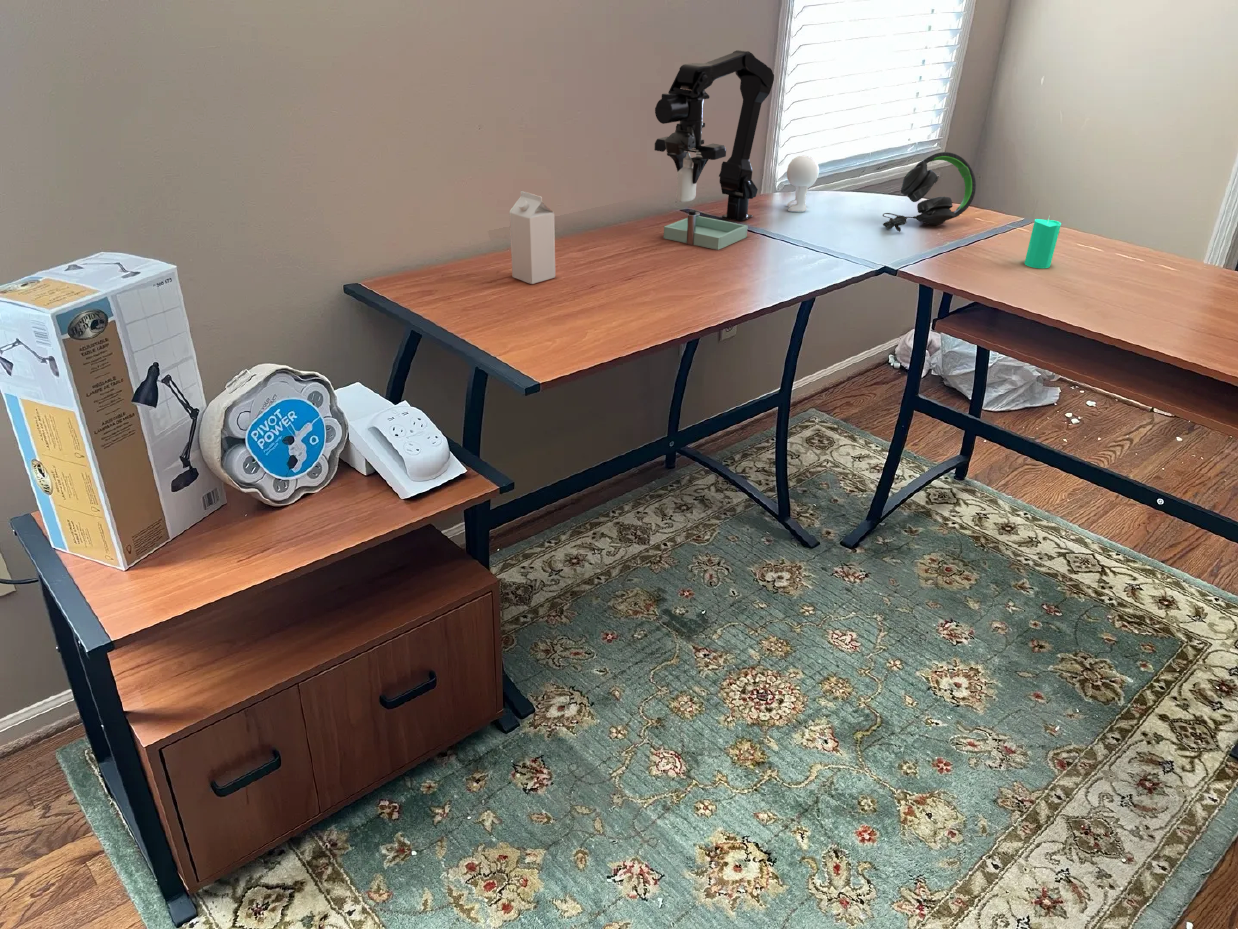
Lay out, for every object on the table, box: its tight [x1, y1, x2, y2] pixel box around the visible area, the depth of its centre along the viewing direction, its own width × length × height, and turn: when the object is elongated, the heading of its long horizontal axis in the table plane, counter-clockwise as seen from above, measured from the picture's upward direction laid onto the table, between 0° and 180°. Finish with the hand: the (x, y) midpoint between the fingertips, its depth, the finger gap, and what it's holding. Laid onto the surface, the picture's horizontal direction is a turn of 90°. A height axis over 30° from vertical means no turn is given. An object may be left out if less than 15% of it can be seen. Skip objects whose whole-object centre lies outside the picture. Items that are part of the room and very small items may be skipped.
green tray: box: [663, 215, 749, 251], centre depth 238 cm, size 15×17×3 cm
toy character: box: [786, 155, 820, 213], centre depth 262 cm, size 9×9×15 cm
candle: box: [1023, 214, 1062, 270], centre depth 219 cm, size 6×6×12 cm
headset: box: [881, 151, 977, 233], centre depth 247 cm, size 18×14×29 cm
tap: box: [685, 209, 701, 246], centre depth 232 cm, size 4×2×8 cm, turn 143°
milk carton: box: [508, 190, 556, 285], centre depth 204 cm, size 7×7×19 cm
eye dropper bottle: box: [675, 152, 698, 203], centre depth 236 cm, size 4×6×12 cm
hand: (688, 182), depth 237 cm, fingers closed on eye dropper bottle, 3 cm apart
